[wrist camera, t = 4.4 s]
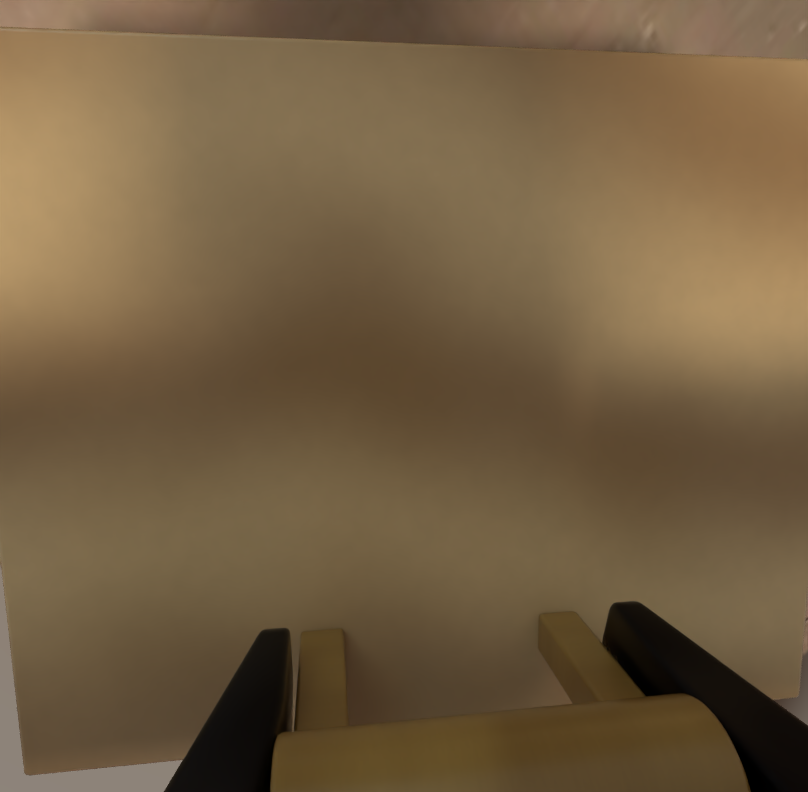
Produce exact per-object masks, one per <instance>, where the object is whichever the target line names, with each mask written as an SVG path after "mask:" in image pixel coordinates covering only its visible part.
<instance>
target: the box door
mask: <svg viewBox="0 0 808 792" xmlns="http://www.w3.org/2000/svg"><path fill="white" fill-rule="evenodd" d="M0 559H1V568H2V576H3V586H4V595H5V603H6V613H7V622H8V630H9V639H10V648H11V657H12V666H13V675H14V683H15V692H16V702H17V711H18V720H19V729H20V738H21V747H22V756H23V764H24V773H25V774H26V775H38V774H47V773H57V772H66V771H76V770H87V769H97V768H107V767H115V766H126V765H136V764H146V763H155V762H166V761H175V760H183V759H184V757H185V756H186V754H187V752H188V751H189V749H190V747H191V746H192V744H193V742H194V741H195V739H196V737H197V736H198V734H199V732H200V731H201V729H202V727H203V726H204V724H205V722H206V721H207V719H208V717H209V716H210V714H211V712H212V711H213V709H214V707H215V706H216V704H217V702H218V701H219V699H220V697H221V696H222V694H223V692H224V691H225V689H226V687H227V686H228V684H229V682H230V681H231V679H232V677H233V676H234V674H235V672H236V671H237V669H238V667H239V666H240V664H241V662H242V661H243V659H244V657H245V656H246V654H247V652H248V651H249V649H250V647H251V646H252V644H253V642H254V641H255V639H256V637H257V636H258V634H259V633H260V632H261V631H262V630H264V629H273V628H287V629H289V631H290V637H291V650H292V663H293V724H292V731H290V732H282V733H280V734H279V735H277V738H276V741H275V744H274V749H273V757H272V766H271V779H270V792H751V790H750V786H749V783H748V779H747V777H746V774H745V771H744V768H743V765H742V763H741V760H740V758H739V755H738V753H737V751H736V749H735V747H734V745H733V743H732V741H731V739H730V737H729V735H728V734H727V732H726V730H725V729H724V727H723V726H722V724H721V723H720V721H719V720H718V719H717V717H716V716H715V715H714V714H713V713H712V711H711V710H710V709H709V708H708V707H707V706H706V705H705V704H704V703H702V702H701V701H700V700H698V699H697V698H695V697H693V696H690V695H687V694H683V693H677V694H667V695H656V696H646V695H645V694H644V693H643V692H642V690H641V689H640V688H639V687H638V686H637V684H636V683H635V682H634V681H633V680H632V678H631V677H630V676H629V675H628V674H627V672H626V671H625V670H624V669H623V668H622V666H621V665H620V664H619V663H618V662H617V660H616V659H615V658H614V657H613V656H612V654H611V653H610V652H609V651H608V650H607V648H606V647H605V646H604V645H603V644H602V639H603V634H604V630H605V626H606V621H607V617H608V613H609V609H610V607H611V605H612V604H613V603H615V602H626V601H637V602H640V603H642V604H643V605H645V606H646V607H647V608H649V609H650V610H651V611H653V612H654V613H655V614H657V615H658V616H660V617H661V618H662V619H664V620H665V621H666V622H668V623H669V624H670V625H672V626H673V627H675V628H676V629H677V630H679V631H680V632H681V633H683V634H684V635H685V636H687V637H688V638H689V639H691V640H692V641H694V642H695V643H696V644H698V645H699V646H700V647H702V648H703V649H704V650H706V651H707V652H708V653H710V654H711V655H713V656H714V657H715V658H717V659H718V660H719V661H721V662H722V663H723V664H725V665H726V666H727V667H729V668H730V669H732V670H733V671H734V672H736V673H737V674H738V675H740V676H741V677H742V678H744V679H745V680H747V681H748V682H749V683H751V684H752V685H753V686H755V687H756V688H757V689H759V690H760V691H761V692H763V693H764V694H766V695H767V696H768V697H770V698H771V699H772V700H775V699H785V698H795V697H797V696H798V695H799V690H800V677H801V666H802V654H803V643H804V631H805V619H806V607H807V595H808V59H790V58H765V57H740V56H716V55H691V54H666V53H641V52H616V51H591V50H566V49H541V48H516V47H491V46H466V45H441V44H416V43H391V42H366V41H342V40H317V39H292V38H267V37H242V36H217V35H192V34H167V33H142V32H117V31H92V30H67V29H42V28H17V27H0Z"/></svg>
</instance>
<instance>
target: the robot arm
mask: <svg viewBox="0 0 808 792" xmlns="http://www.w3.org/2000/svg"><path fill="white" fill-rule="evenodd" d="M602 644H603V645H604V646H605V647H606V648H607V650H608V651H609V652H610V653H611V654H612V656H613V657H614V658H615V659H616V660H617V662H618V663H619V664H620V665H621V666H622V668H623V669H624V670H625V671H626V672H627V674H628V675H629V676H630V677H631V678H632V680H633V681H634V682H635V683H636V684H637V686H638V687H639V688H640V689H641V690H642V692H643V693H644V694H645V695H646V696H656V695H667V694H677V693H683V694H687V695H690V696H693V697H695V698H697V699H698V700H700V701H701V702H702V703H704V704H705V705H706V706H707V707H708V708H709V709H710V710H711V711H712V713H713V714H714V715H715V716H716V717H717V719H718V720H719V721H720V723H721V724H722V726H723V727H724V729H725V730H726V732H727V734H728V735H729V737H730V739H731V741H732V743H733V745H734V747H735V749H736V751H737V753H738V755H739V758H740V760H741V763H742V765H743V768H744V771H745V774H746V777H747V779H748V783H749V786H750V790H751V792H808V725H806V724H805V723H804V722H802V721H801V720H799V719H798V718H797V717H795V716H794V715H793V714H791V713H790V712H788V711H787V710H786V709H784V708H783V707H782V706H780V705H779V704H778V703H776V702H775V701H774V700H772V699H771V698H770V697H768V696H767V695H766V694H764V693H763V692H761V691H760V690H759V689H757V688H756V687H755V686H753V685H752V684H751V683H749V682H748V681H747V680H745V679H744V678H742V677H741V676H740V675H738V674H737V673H736V672H734V671H733V670H732V669H730V668H729V667H727V666H726V665H725V664H723V663H722V662H721V661H719V660H718V659H717V658H715V657H714V656H713V655H711V654H710V653H708V652H707V651H706V650H704V649H703V648H702V647H700V646H699V645H698V644H696V643H695V642H694V641H692V640H691V639H689V638H688V637H687V636H685V635H684V634H683V633H681V632H680V631H679V630H677V629H676V628H675V627H673V626H672V625H670V624H669V623H668V622H666V621H665V620H664V619H662V618H661V617H660V616H658V615H657V614H655V613H654V612H653V611H651V610H650V609H649V608H647V607H646V606H645V605H643V604H642V603H640V602H637V601H626V602H615V603H613V604H612V605H611V607H610V609H609V613H608V617H607V621H606V626H605V630H604V634H603V639H602ZM292 724H293V663H292V650H291V637H290V631H289V629H287V628H273V629H264V630H262V631H261V632H260V633H259V634H258V636H257V637H256V639H255V641H254V642H253V644H252V646H251V647H250V649H249V651H248V652H247V654H246V656H245V657H244V659H243V661H242V662H241V664H240V666H239V667H238V669H237V671H236V672H235V674H234V676H233V677H232V679H231V681H230V682H229V684H228V686H227V687H226V689H225V691H224V692H223V694H222V696H221V697H220V699H219V701H218V702H217V704H216V706H215V707H214V709H213V711H212V712H211V714H210V716H209V717H208V719H207V721H206V722H205V724H204V726H203V727H202V729H201V731H200V732H199V734H198V736H197V737H196V739H195V741H194V742H193V744H192V746H191V747H190V749H189V751H188V752H187V754H186V756H185V757H184V759H183V761H182V762H181V764H180V766H179V767H178V769H177V771H176V772H175V774H174V776H173V777H172V779H171V781H170V783H169V784H168V786H167V788H166V789H165V791H164V792H270V779H271V766H272V757H273V749H274V744H275V741H276V738H277V735H279V734H280V733H282V732H290V731H292Z"/></svg>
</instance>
